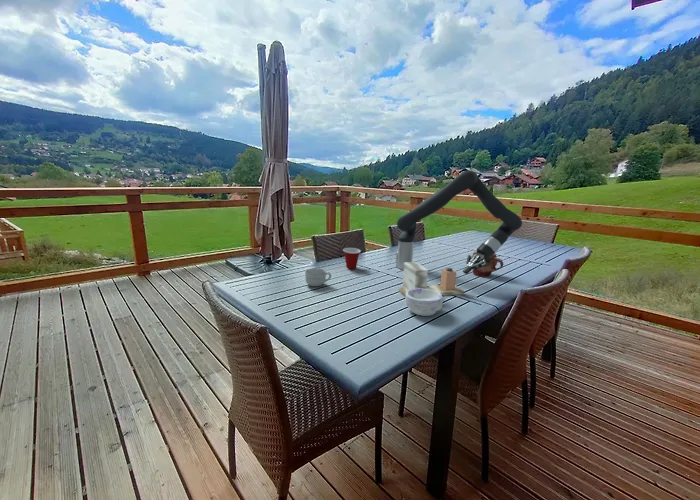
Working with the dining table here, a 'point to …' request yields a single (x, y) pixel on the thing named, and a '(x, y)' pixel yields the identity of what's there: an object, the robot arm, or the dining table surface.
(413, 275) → the press housing
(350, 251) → the plastic cup
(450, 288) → the tan small carton
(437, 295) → the white bowl
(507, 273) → the dining table surface
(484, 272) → the brown ceramic mug
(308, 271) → the teacup
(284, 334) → the dining table surface
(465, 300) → the dining table surface
